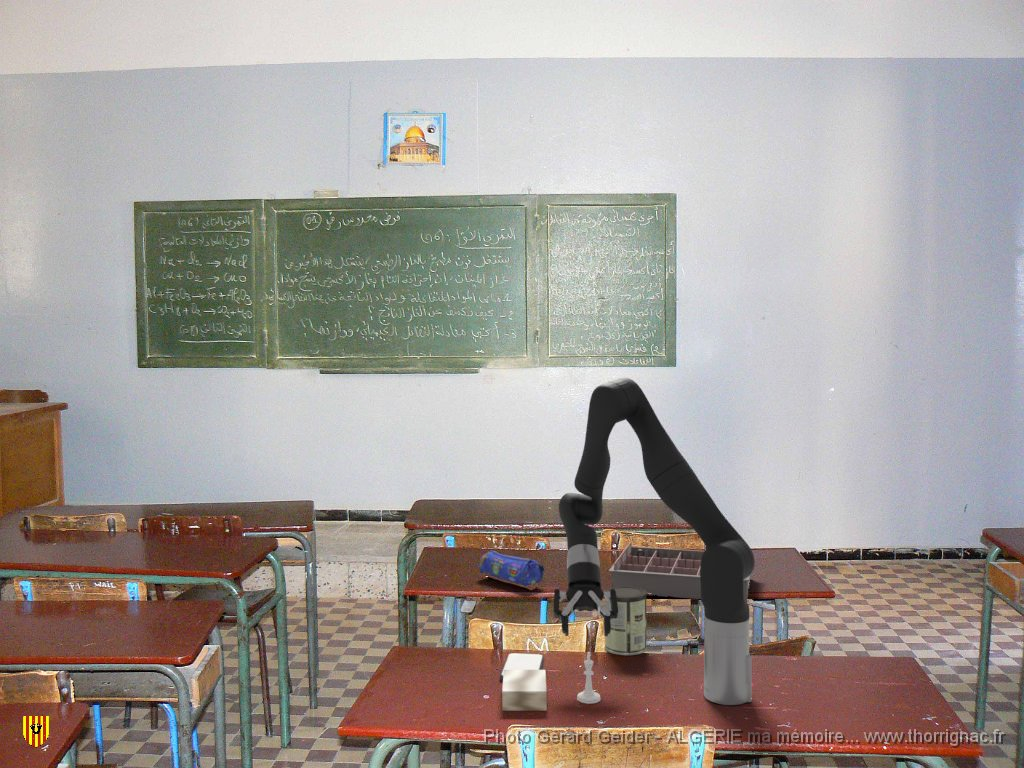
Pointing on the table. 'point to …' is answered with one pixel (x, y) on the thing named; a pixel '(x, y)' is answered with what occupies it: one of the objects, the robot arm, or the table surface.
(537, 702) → the birch stand
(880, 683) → the table surface
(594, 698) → the chess piece
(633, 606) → the coffee can
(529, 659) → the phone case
